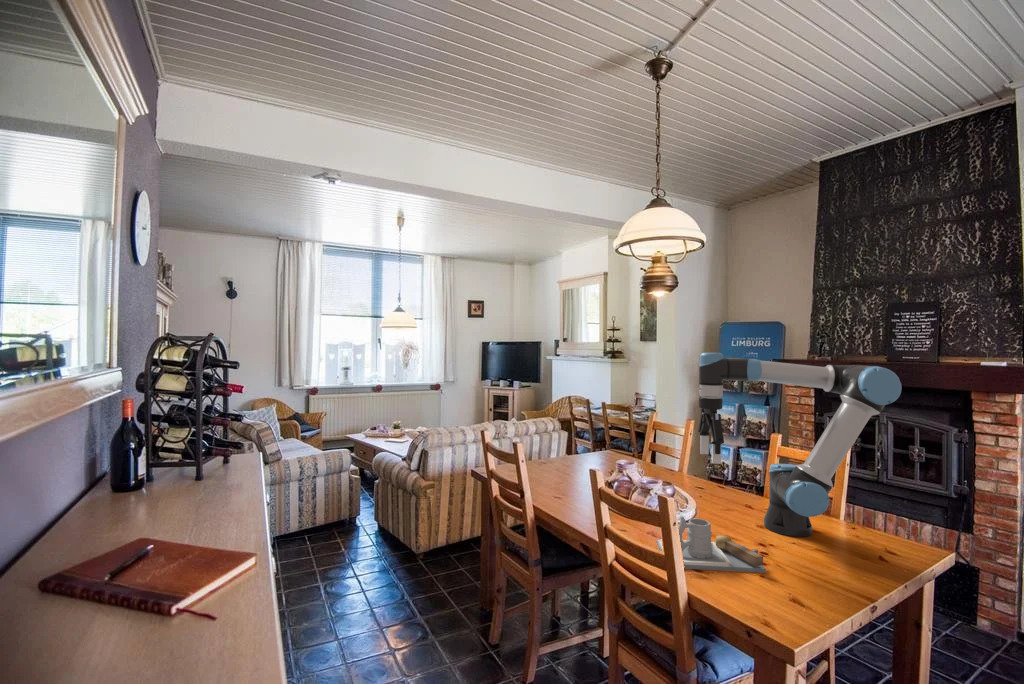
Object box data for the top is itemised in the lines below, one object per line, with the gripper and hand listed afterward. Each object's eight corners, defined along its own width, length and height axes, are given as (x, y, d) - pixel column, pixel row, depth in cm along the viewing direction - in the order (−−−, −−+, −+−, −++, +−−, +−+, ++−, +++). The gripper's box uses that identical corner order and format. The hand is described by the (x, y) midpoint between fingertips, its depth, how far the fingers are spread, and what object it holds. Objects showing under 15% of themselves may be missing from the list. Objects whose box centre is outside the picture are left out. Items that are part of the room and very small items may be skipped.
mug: (718, 558, 146) (718, 518, 146) (682, 561, 144) (682, 521, 144) (703, 547, 154) (703, 510, 154) (669, 550, 151) (669, 512, 151)
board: (744, 549, 155) (745, 535, 155) (765, 572, 140) (766, 557, 140) (656, 545, 158) (656, 531, 158) (666, 567, 142) (667, 552, 142)
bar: (712, 544, 154) (712, 536, 154) (723, 542, 155) (723, 534, 155) (753, 566, 138) (754, 558, 138) (765, 564, 140) (765, 555, 140)
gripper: (689, 393, 179) (689, 450, 179) (710, 401, 154) (710, 467, 154) (710, 393, 178) (710, 450, 178) (735, 401, 153) (734, 468, 153)
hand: (710, 458), depth 166 cm, fingers open, 13 cm apart
